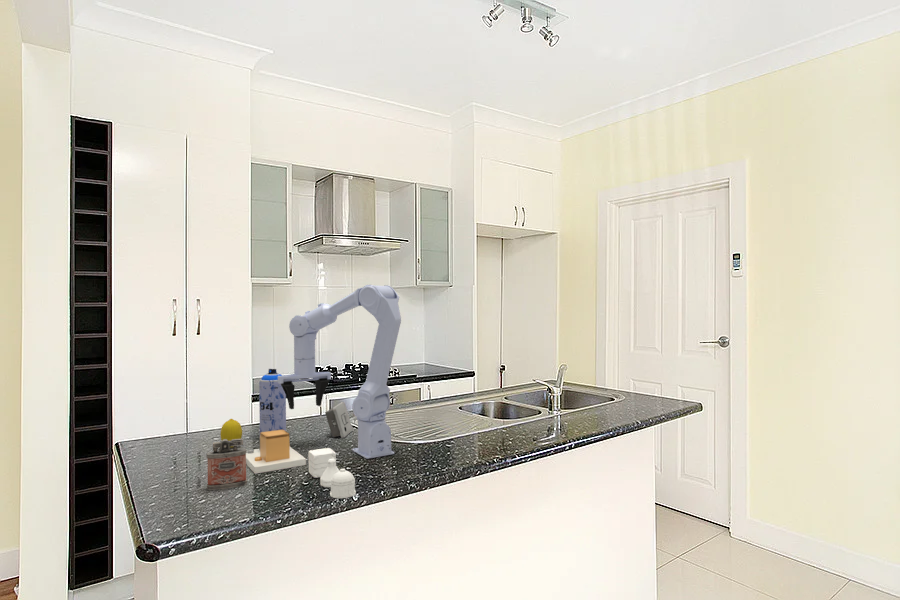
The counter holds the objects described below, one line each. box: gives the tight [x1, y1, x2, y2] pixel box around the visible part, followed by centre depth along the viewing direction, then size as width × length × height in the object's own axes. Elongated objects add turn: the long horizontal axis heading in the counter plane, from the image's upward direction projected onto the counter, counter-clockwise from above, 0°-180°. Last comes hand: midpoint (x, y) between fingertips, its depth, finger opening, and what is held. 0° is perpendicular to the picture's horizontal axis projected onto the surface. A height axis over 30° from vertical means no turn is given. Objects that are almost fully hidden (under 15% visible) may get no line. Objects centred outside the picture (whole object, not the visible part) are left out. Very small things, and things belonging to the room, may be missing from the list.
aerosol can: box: [258, 368, 287, 438], centre depth 161 cm, size 8×8×20 cm
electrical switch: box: [325, 401, 353, 439], centre depth 162 cm, size 9×5×9 cm, turn 174°
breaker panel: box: [246, 438, 307, 475], centre depth 135 cm, size 16×12×4 cm
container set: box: [308, 447, 357, 499], centre depth 118 cm, size 20×5×6 cm, turn 30°
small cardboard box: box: [259, 429, 291, 462], centre depth 133 cm, size 6×6×6 cm
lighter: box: [206, 438, 248, 491], centre depth 117 cm, size 8×3×10 cm, turn 114°
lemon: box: [220, 418, 243, 449], centre depth 148 cm, size 6×6×8 cm
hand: (305, 407), depth 151 cm, fingers open, 7 cm apart
